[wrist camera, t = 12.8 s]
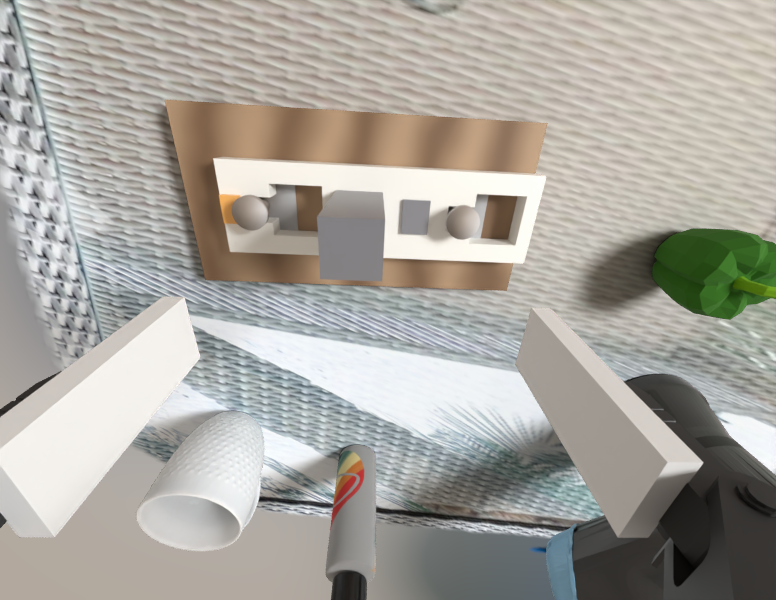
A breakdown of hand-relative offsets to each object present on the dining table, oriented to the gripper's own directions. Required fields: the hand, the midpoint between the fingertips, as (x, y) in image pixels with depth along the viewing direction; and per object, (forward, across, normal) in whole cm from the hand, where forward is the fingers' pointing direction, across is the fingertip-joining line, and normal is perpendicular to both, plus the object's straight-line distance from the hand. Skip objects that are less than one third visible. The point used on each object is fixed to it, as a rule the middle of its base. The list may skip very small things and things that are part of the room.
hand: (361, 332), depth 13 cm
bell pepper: (+23, -34, +4) cm, 41 cm away
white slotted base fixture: (+21, -1, -1) cm, 21 cm away
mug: (+23, +18, +32) cm, 44 cm away
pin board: (+23, +1, -1) cm, 23 cm away
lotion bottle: (+23, +1, +37) cm, 44 cm away
